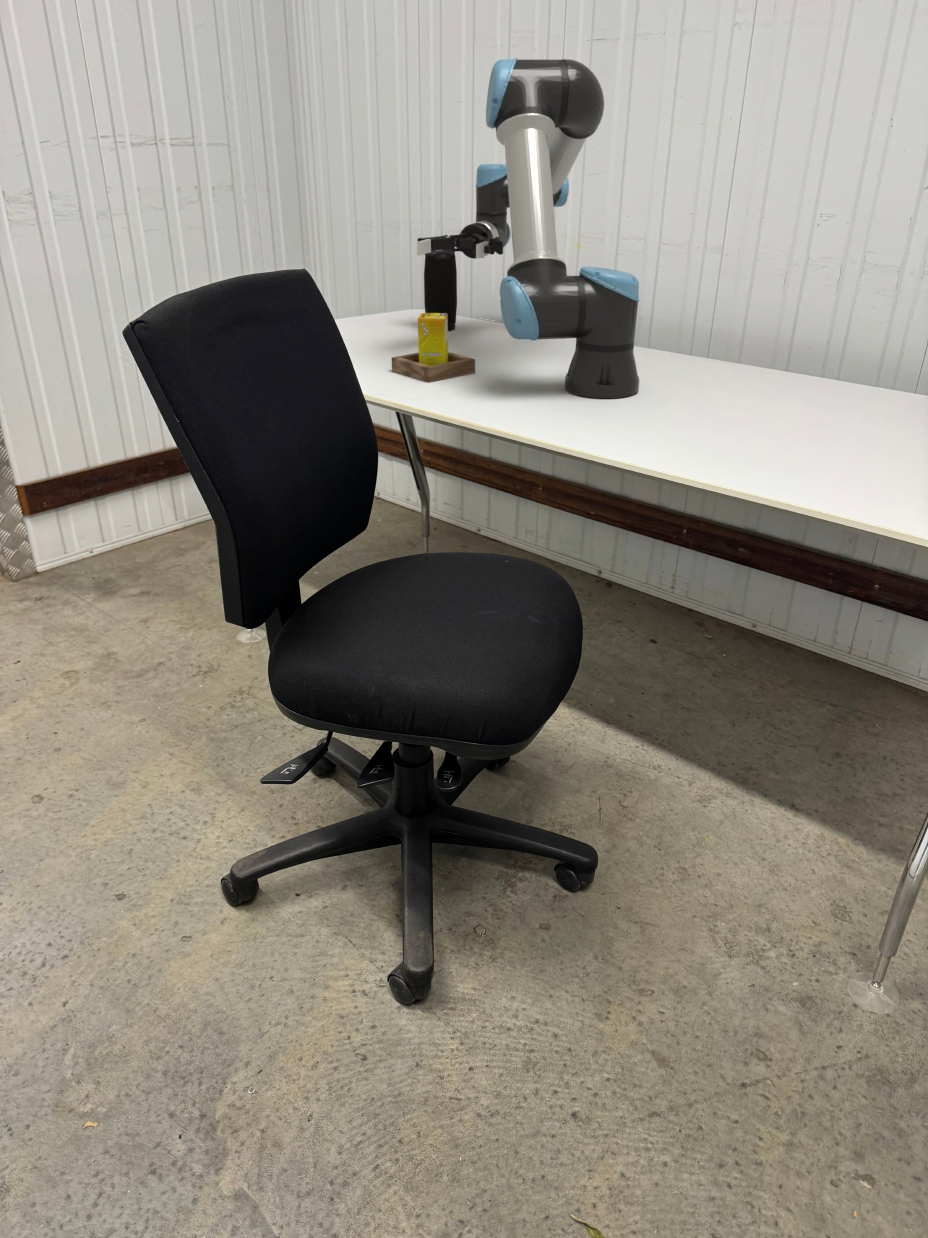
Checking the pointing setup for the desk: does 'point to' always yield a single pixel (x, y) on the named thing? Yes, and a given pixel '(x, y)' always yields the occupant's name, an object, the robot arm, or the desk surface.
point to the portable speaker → (441, 284)
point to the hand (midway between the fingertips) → (447, 249)
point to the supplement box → (433, 338)
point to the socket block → (433, 367)
